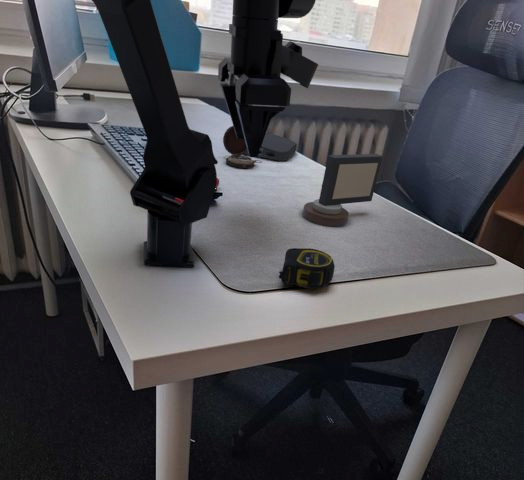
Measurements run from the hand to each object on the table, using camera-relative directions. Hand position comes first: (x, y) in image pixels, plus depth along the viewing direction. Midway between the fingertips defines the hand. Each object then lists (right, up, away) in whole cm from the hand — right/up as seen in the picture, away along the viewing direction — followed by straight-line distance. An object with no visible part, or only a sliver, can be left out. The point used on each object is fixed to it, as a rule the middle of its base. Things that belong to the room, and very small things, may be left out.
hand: (246, 147), depth 73 cm
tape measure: (+7, -20, -5) cm, 22 cm away
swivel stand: (+13, -5, +18) cm, 23 cm away
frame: (+17, -3, +19) cm, 25 cm away
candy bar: (-9, -3, +17) cm, 19 cm away
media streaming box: (+2, +19, +51) cm, 55 cm away
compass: (-2, +12, +39) cm, 41 cm away
